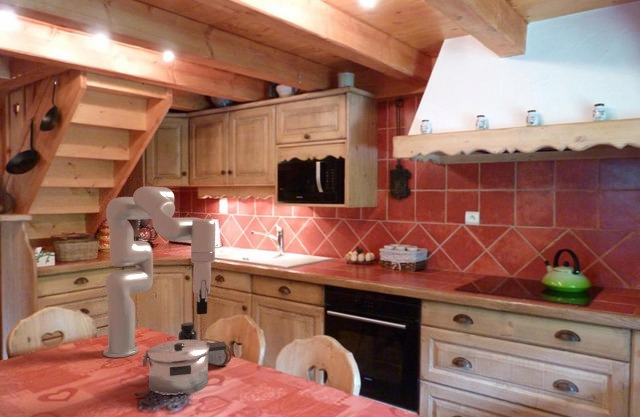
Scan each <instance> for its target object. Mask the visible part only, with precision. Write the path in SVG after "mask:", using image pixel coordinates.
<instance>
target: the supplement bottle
mask: <svg viewBox="0 0 640 417" xmlns="http://www.w3.org/2000/svg"><path fill="white" fill-rule="evenodd" d="M177 340H198V332H197V330H196V329H195V323H194V322H188V321H187V322H183V323H181V324H180V331H179V333H178V339H177Z"/></svg>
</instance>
